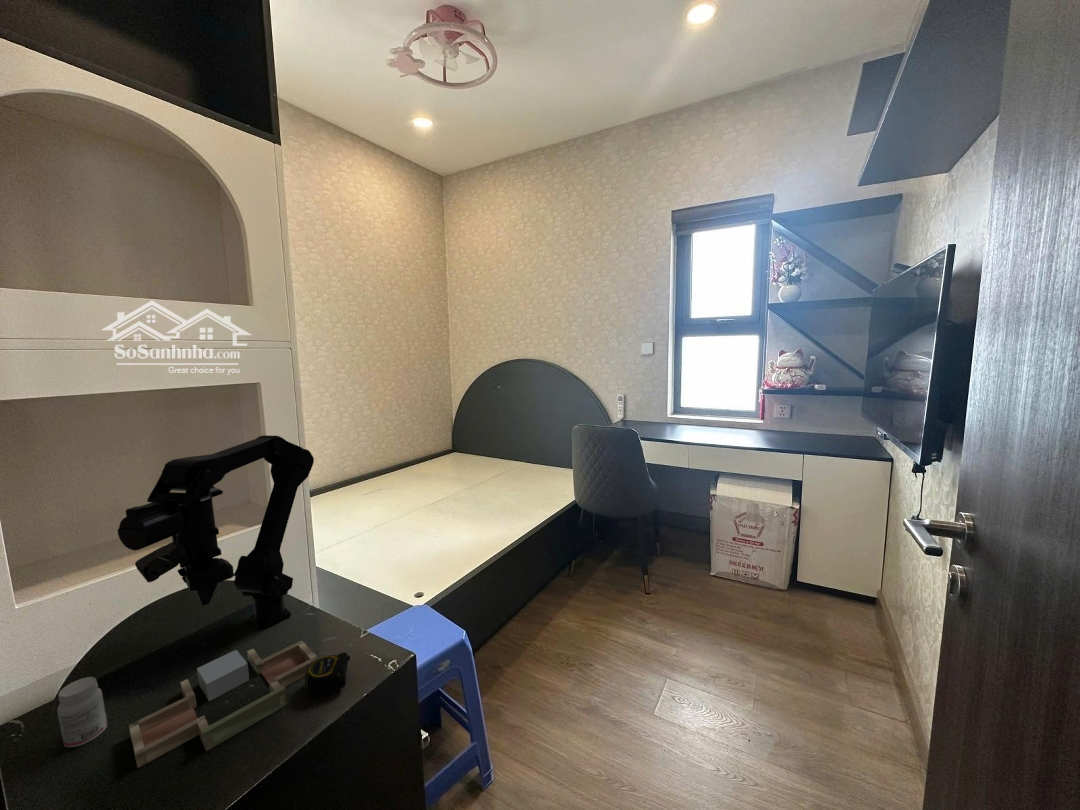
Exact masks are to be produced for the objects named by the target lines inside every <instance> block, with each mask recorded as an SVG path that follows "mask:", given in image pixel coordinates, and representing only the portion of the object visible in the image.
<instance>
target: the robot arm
mask: <svg viewBox="0 0 1080 810" xmlns="http://www.w3.org/2000/svg"><path fill="white" fill-rule="evenodd" d="M262 459H264V461H265V462H267V463H269V464H270V465H271V466H270V471H269V472H270V476H271V478H272V481H273V486H272V489H271V493H270V497H269V499H268V503H267V505H266V506H267V507H266V509H265V512H264V515H263V519H262V522H261V524H260V525H261V526H260V528H259V532H258V536H257V538H256V542H255V544H254V548H253V549H252V550H251V551H250V552H249V553H248V554H247V555H241V556H240V557H239V558H238V562H237V566H236V569H235V571H234V566H233V565H232V564H231V563H230V561H228V560H226V559H224V558H222V557H220V558H219V556H222V549H221V548H220V547H219V545H218V544H219V543H218V536H217V535H220V532H219V528H218V527H217V526H216V521H215V512H214V503H213V502H214V501H213V498H215V497H218V496H221V495H222V494H223V493H224V491H223V490H222V489H219V488H217V487H215V486H214V485H216V484H218V483H220V482H221V481H223V479H224V477H226V474H229V473H230V472H232V471H235V470H237V469H240V468H242V467H244V466H247V465H250V464H252V463H254V462H257V461H259V460H262ZM314 459H315V458H314V456H313V454H312V452H311V451H310V450H309V449H306V448H305V449H304V448H303V447H302V446H299V445H297V444H294V443H292V442H291V441H287V440H286V439H285V438H284V437H281V436H280V435H260V436H257V437H256V438H253V439H251V440H248V441H246V442H243V443H240V444H237V445H234V446H231V447H229V448H226V449H223V450H220V451H217V452H214V453H211V454H203V455H195V456H186V457H181V458H174V459H172V460H169V461H168V462H166V463H165V464H164V467H163V469H162V471H161V474H160V476H159V478H158V480H157V482H156V484H155V485H154V487H153V489H152V490H151V492H150V494H149V496H148V498H147V501H146V502H148V503H146V504H143V505H138V506H134V507H133V506H132V507H130V508H126V510H125V515H126V516H125V517H124V518H122V519H121V521H120V523H119V525H118V529H117V536H118V538H119V541H120V543H122V545H123V546H124V547H125V548H127V549H129V550H131V551H140V550H142V549H144V548H147V547H149V546H152V545H154V544H157V543H160V542H161V541H164V540H167V539H168V538H171V540H172V542H169V543H167V544H166V545H162V546H160V547H158V548H157V549H155V550H153V551H151V552H150V553H148V554H146V555H144V556H142V557H141V558H139V559H138V560H136V561H135V562H134V565H135V568H136V569H137V571H138V572H139V573H140V575H141V576H142V578H144V579H145V581H146V582H147V583H152V582H155V581H156V580H158V579H159V578H160V577H161V576H163V575H164V574H166V573H168V572H169V571H171V570H173V569H175V568H176V567H178V565H179V569H178V570H177V573H178V575H179V576H180V577H181V579H182V581H183V582H184V583H185V584H186V586H187V588H188V589H189V591H190V592H193V591H195V593H196V595H197V598H198V599H199V602H200V604H201V605H202V606H203V607H204V606H208V605H209V604H210V603H211V602H212V601H211V600H212V598H213V595H214V593H215V591H216V588H217V586H218V584H219V583H221V582H225V581H228V580H230V579H232V578H234V582H233V584H234V586H235V587H236V590H238V591H239V592H240V593H241V594H242V596H244V597H252V603H253V613H254V614H253V615H251V616H249V620H250V621H251V623H252V624H253V623H254V624H253V625H254V626H255V628H258V629H260V630H263V629H265V628H267V627H269V626H271V624H272V625H273V624H276V623H278V621H279V622H281V621H282V620H285V619H287V618H290V617H291V616H292V613H291V612H290V610H288V609H287V607H286V606H285V598H284V597H285V595H287V594H289V592H288V591H290V590H291V589H292V588H293V582H294V578H293V577H292V576H289V575H288V574H285V573H283V572H284V571H283V570H284V564H285V563H284V560H283V557H282V553H281V547H282V544H283V540H284V536H285V534H286V529H287V526H288V522H289V519H290V515H291V511H292V508H293V505H294V502H295V498H296V494H297V492H298V488H299V487H300V486H301V485H302V484H303V482H304V481H306V479H307V478H308V477H309V475H310V473H311V470H312V468H313V466H314ZM172 491H174V492H172ZM176 491H184V492H176ZM264 627H265V628H264ZM262 628H263V629H262ZM258 629H257V630H258Z"/></svg>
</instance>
